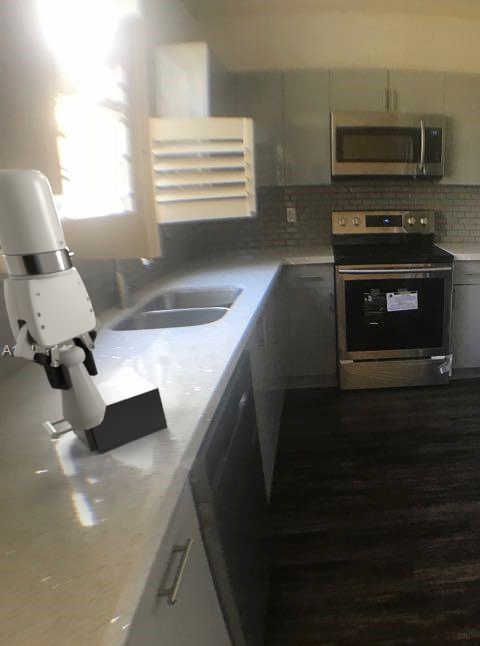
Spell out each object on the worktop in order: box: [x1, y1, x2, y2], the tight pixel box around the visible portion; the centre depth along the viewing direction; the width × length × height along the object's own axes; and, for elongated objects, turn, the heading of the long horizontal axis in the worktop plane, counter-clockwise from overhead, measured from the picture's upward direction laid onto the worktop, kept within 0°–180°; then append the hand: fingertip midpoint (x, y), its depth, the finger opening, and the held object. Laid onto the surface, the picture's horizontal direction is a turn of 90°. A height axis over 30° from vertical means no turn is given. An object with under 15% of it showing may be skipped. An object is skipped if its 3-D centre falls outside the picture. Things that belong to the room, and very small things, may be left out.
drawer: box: [41, 417, 98, 453], centre depth 95 cm, size 17×11×8 cm, turn 138°
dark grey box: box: [91, 372, 168, 455], centre depth 98 cm, size 14×13×10 cm
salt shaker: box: [58, 345, 106, 430], centre depth 71 cm, size 6×6×13 cm
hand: (75, 380), depth 71 cm, fingers closed on salt shaker, 4 cm apart
